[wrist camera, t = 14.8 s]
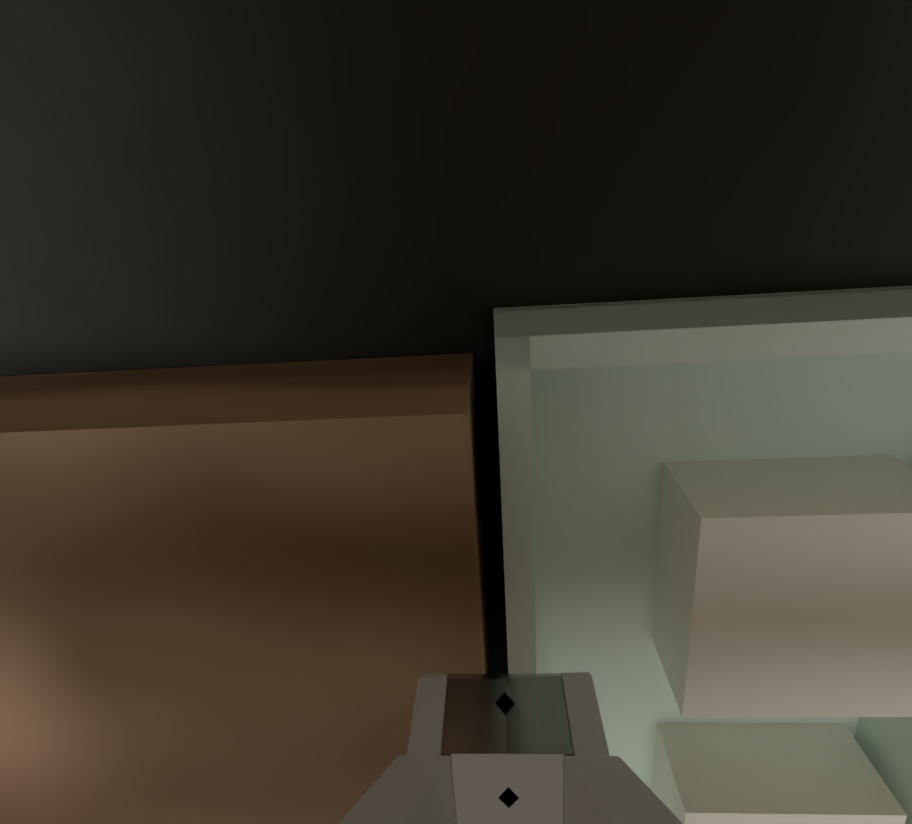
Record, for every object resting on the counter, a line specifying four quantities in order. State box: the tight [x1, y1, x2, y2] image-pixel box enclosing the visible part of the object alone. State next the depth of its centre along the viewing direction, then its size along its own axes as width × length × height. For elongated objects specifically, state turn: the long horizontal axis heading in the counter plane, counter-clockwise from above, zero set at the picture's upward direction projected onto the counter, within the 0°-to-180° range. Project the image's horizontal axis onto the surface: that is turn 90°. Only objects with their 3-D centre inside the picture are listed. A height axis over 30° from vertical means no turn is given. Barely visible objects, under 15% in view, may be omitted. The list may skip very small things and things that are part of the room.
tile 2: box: [651, 455, 912, 718], centre depth 13 cm, size 5×5×2 cm
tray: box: [493, 285, 912, 824], centre depth 14 cm, size 20×10×3 cm, turn 4°
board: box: [0, 353, 490, 824], centre depth 15 cm, size 18×12×4 cm, turn 4°
